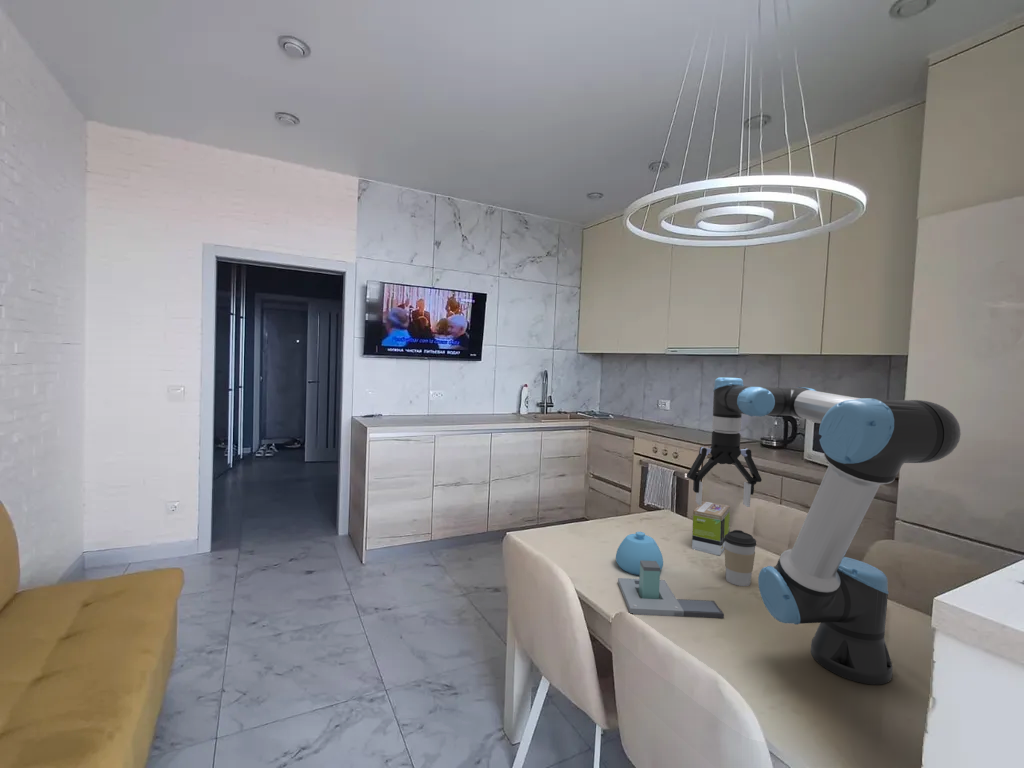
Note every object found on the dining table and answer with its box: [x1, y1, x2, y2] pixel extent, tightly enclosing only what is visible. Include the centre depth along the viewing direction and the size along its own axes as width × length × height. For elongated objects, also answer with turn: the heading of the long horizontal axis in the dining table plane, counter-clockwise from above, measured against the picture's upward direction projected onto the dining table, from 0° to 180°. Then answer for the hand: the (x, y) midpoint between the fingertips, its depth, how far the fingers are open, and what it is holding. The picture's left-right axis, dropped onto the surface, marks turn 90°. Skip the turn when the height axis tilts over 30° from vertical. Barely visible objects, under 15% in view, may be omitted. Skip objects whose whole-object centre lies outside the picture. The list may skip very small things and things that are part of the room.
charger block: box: [638, 560, 661, 599], centre depth 136 cm, size 4×4×10 cm
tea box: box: [691, 500, 731, 556], centre depth 177 cm, size 15×10×15 cm, turn 144°
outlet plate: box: [617, 577, 684, 617], centre depth 136 cm, size 18×14×2 cm
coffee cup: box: [724, 529, 757, 587], centre depth 149 cm, size 9×9×15 cm
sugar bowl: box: [615, 531, 664, 576], centre depth 157 cm, size 15×15×12 cm
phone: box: [674, 598, 725, 619], centre depth 131 cm, size 7×13×1 cm, turn 88°
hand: (722, 504), depth 138 cm, fingers open, 13 cm apart
